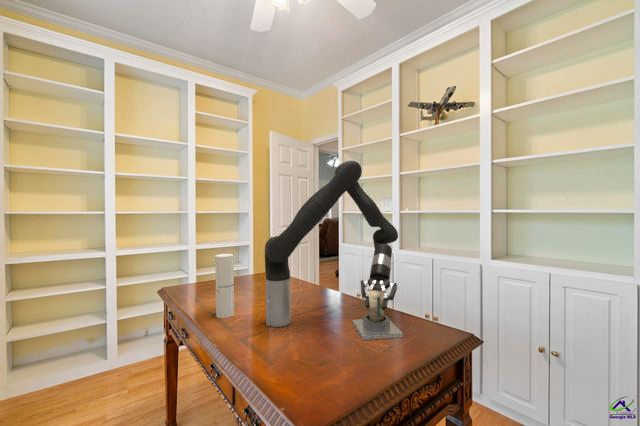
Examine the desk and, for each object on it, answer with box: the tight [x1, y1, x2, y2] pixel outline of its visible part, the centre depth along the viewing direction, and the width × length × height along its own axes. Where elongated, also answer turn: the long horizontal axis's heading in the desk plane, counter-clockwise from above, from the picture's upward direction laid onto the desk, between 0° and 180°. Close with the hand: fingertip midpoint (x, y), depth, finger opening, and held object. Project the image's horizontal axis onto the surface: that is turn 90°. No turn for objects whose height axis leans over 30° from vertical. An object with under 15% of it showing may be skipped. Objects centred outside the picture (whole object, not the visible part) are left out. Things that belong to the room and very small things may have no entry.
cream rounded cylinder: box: [368, 290, 385, 322], centre depth 105 cm, size 5×5×10 cm
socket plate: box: [351, 313, 404, 341], centre depth 105 cm, size 14×14×4 cm
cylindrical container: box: [214, 253, 235, 319], centre depth 122 cm, size 7×7×25 cm
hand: (375, 308), depth 104 cm, fingers closed on cream rounded cylinder, 5 cm apart
